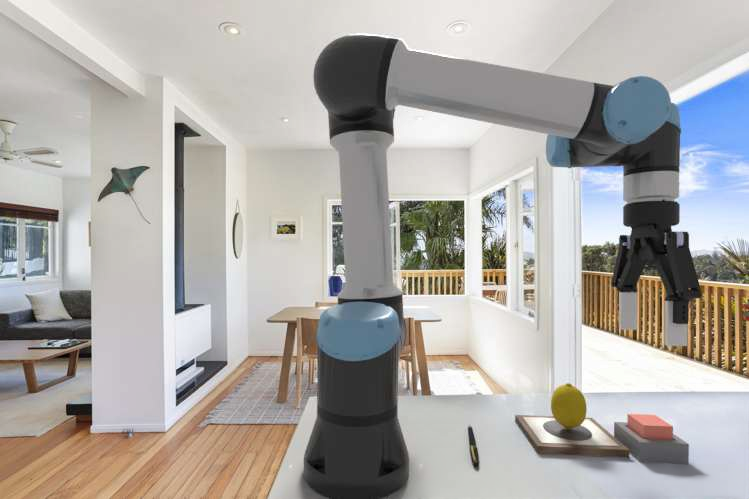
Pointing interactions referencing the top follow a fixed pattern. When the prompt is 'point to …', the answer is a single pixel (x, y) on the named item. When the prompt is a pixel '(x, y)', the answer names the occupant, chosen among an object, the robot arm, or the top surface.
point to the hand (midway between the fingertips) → (649, 336)
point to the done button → (650, 427)
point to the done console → (652, 446)
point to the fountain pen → (473, 447)
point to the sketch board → (569, 437)
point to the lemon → (568, 406)
